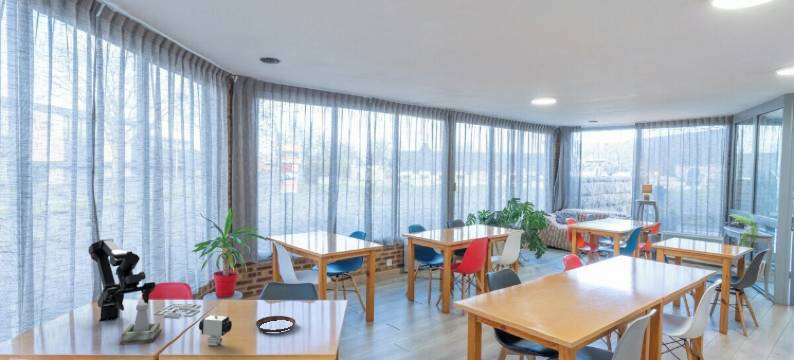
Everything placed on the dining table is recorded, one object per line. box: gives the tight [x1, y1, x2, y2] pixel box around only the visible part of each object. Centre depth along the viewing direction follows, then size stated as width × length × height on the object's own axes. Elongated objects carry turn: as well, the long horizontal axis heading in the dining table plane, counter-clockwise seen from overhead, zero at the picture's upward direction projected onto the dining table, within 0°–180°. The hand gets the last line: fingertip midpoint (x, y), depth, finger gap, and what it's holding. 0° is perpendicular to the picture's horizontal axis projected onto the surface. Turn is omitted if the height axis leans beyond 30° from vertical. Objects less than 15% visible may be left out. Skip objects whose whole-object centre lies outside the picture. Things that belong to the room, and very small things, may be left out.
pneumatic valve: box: [198, 314, 233, 347], centre depth 166 cm, size 6×12×12 cm, turn 86°
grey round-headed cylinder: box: [133, 302, 150, 332], centre depth 169 cm, size 6×6×13 cm
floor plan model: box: [153, 303, 202, 319], centre depth 203 cm, size 19×25×2 cm
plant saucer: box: [255, 315, 297, 333], centre depth 186 cm, size 18×18×3 cm
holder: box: [118, 322, 162, 345], centre depth 169 cm, size 12×12×4 cm
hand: (135, 307), depth 173 cm, fingers open, 9 cm apart
